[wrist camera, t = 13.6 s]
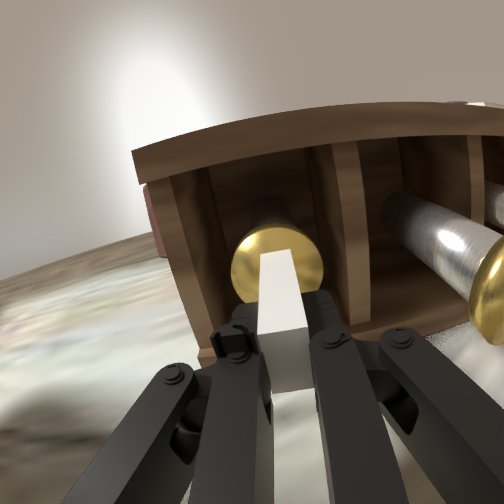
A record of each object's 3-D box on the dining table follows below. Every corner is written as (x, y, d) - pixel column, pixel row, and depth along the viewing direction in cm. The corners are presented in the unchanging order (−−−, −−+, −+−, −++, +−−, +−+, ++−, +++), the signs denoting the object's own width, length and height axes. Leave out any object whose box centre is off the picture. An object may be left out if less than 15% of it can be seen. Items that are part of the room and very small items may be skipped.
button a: (542, 243, 13) (547, 185, 12) (513, 254, 14) (517, 189, 12) (462, 205, 26) (460, 164, 24) (432, 210, 26) (429, 167, 25)
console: (544, 285, 16) (550, 109, 10) (205, 377, 19) (128, 137, 14) (474, 240, 29) (467, 110, 23) (226, 289, 32) (189, 140, 27)
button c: (327, 304, 15) (317, 221, 14) (242, 319, 16) (221, 238, 14) (299, 234, 28) (291, 186, 26) (251, 243, 28) (240, 195, 27)
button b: (535, 325, 8) (556, 231, 6) (471, 359, 8) (495, 251, 7) (425, 238, 20) (423, 180, 19) (374, 249, 21) (369, 187, 19)
